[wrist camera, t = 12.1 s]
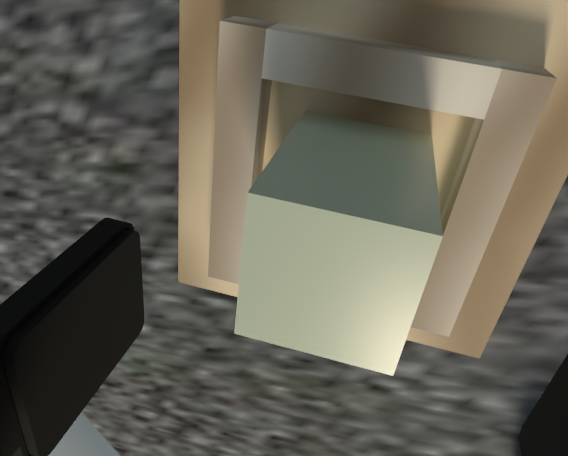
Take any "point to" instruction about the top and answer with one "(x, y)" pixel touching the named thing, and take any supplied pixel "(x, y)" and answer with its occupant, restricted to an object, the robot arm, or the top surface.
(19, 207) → the top surface
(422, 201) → the pale green block
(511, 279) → the end holder
